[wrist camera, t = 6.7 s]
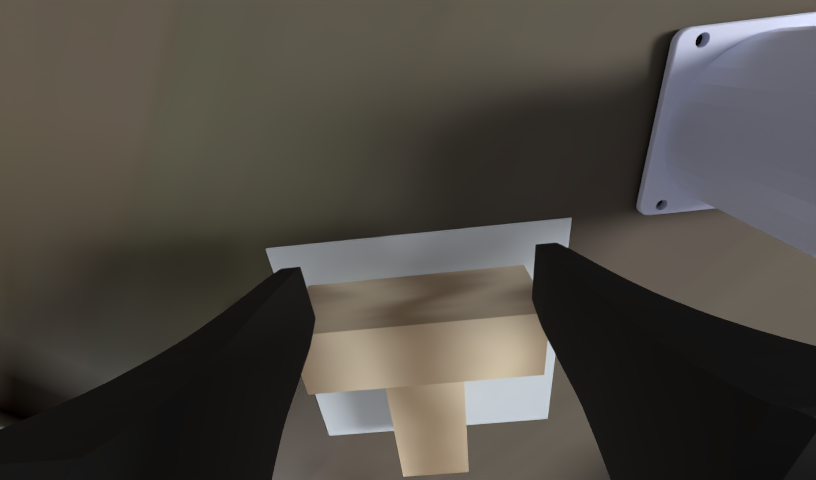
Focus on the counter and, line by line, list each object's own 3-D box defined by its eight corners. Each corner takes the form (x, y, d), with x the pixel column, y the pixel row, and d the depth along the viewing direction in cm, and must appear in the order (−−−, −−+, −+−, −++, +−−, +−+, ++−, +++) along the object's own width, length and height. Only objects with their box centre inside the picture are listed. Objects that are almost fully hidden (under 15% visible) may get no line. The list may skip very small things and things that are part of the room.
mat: (569, 215, 18) (571, 217, 18) (546, 414, 26) (547, 418, 26) (267, 245, 19) (265, 248, 19) (329, 431, 26) (329, 435, 26)
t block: (523, 264, 19) (550, 312, 16) (516, 408, 25) (534, 467, 21) (308, 285, 20) (287, 336, 16) (348, 421, 25) (339, 481, 22)
